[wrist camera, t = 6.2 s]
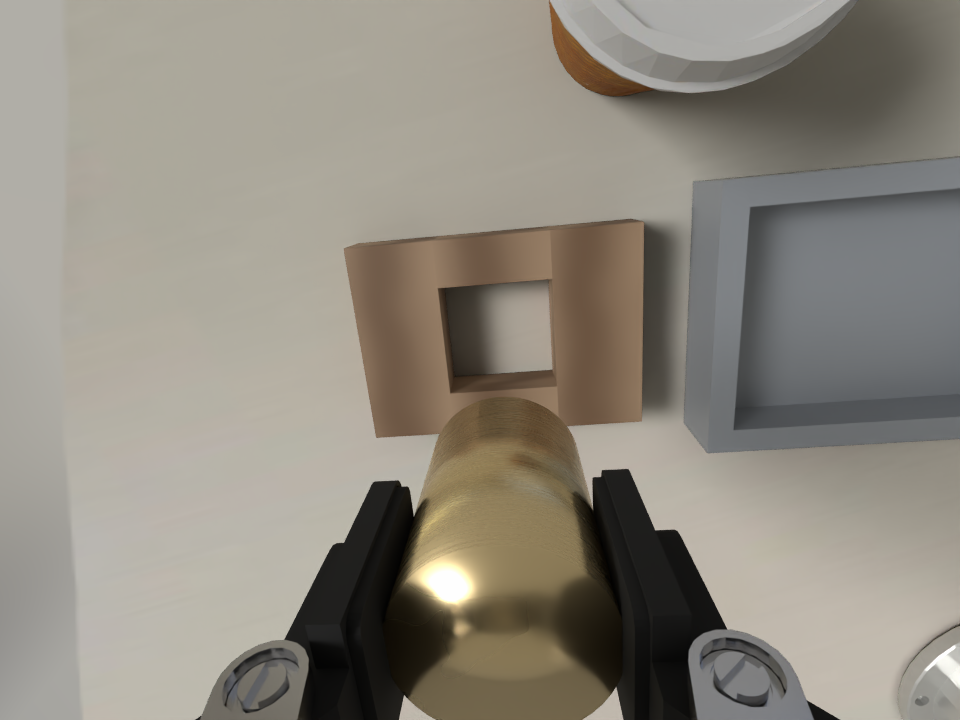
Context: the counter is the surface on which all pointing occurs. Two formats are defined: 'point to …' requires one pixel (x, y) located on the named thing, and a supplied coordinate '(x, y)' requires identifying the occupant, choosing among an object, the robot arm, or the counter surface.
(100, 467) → the counter surface
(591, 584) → the pin
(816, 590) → the counter surface
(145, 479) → the counter surface
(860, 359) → the slate tray
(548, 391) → the block
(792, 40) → the disposable coffee cup
